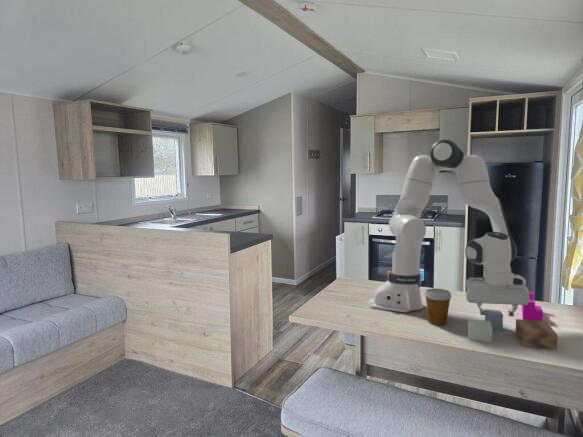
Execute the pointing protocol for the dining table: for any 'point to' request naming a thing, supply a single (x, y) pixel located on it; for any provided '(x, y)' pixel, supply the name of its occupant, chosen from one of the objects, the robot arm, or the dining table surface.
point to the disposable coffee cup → (437, 305)
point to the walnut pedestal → (536, 334)
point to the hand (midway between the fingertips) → (496, 315)
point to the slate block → (494, 319)
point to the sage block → (479, 330)
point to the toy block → (532, 310)
